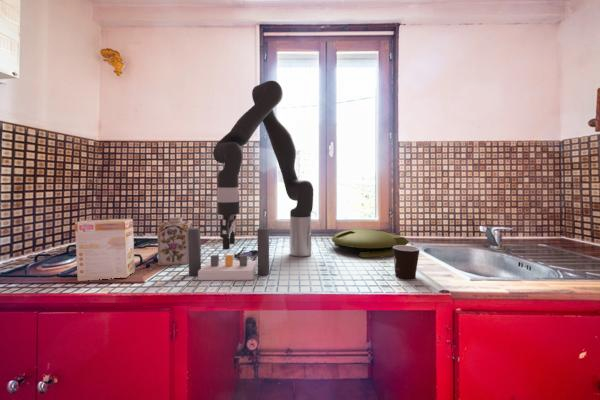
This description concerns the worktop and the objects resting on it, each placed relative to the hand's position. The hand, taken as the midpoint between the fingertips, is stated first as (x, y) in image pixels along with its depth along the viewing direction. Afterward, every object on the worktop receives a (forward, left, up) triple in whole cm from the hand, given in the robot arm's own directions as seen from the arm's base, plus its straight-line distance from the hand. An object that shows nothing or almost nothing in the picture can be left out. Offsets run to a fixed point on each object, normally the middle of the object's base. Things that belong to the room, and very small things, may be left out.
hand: (229, 246), depth 99 cm
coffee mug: (-62, +3, -10) cm, 63 cm away
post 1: (+12, 0, -10) cm, 15 cm away
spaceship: (-59, -36, -10) cm, 70 cm away
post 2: (-12, 0, -10) cm, 15 cm away
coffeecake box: (+41, +2, -10) cm, 42 cm away
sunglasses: (-3, -22, -10) cm, 24 cm away
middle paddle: (0, 0, -7) cm, 7 cm away
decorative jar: (+25, -17, -10) cm, 32 cm away
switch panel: (0, 0, -10) cm, 10 cm away
